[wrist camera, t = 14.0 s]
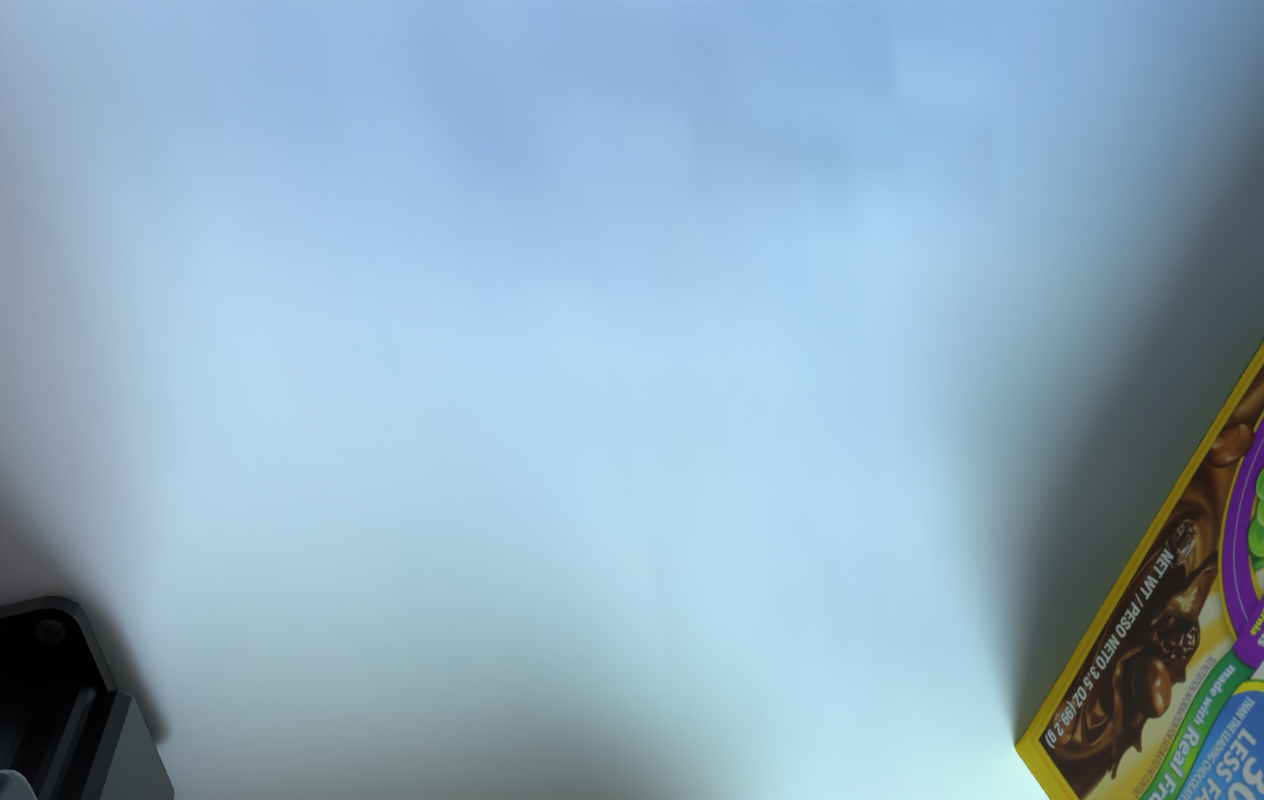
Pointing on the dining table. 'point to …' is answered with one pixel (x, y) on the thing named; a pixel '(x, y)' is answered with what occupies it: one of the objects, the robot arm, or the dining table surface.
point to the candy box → (1174, 642)
